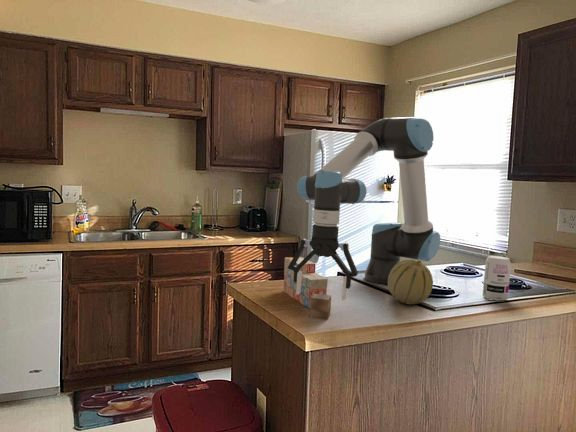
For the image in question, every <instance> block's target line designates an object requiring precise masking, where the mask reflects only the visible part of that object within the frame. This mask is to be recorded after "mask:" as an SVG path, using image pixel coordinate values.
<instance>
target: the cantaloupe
mask: <svg viewBox="0 0 576 432" xmlns="http://www.w3.org/2000/svg"><path fill="white" fill-rule="evenodd" d="M387 287H388V290H389V292H390V294H391V295H392V297H393V298H394V299H395V300H397V301H398V302H400V303H403V304H406V305H418V304H421V303H422V302H424V301H426V299H428V298H429V296H430V295H431V293H432V290H433V287H434V278H433V275H432V273H431V270H430V269H429V268H428V267H427V266H426V264H423V263H422V261H418V260H414V259H404V260H400V262H399V263H397V264H396V265H395V266H394V267H393V268H392V270H391V272H390V274H389V276H388V284H387Z"/></svg>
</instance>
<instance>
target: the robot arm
mask: <svg viewBox="0 0 576 432" xmlns="http://www.w3.org/2000/svg"><path fill="white" fill-rule="evenodd" d="M353 139H354V140H352V141H351V142H350V143H349V144H347V145H346V147H344V148H343V149H342V150H341V151H339V153H338V154H336V155H334V156H333V158H332V159H330V160H329V161H328V162H327V163H326V164H325V165H323V166H322V167H321V168H320V169H319V170H318V171H316V173H314V174H313V175H304V176H301V177H300V178H299V180H298V181H297V184H296V192H297V194H298V196H299V197H300V198H301V199H303V200H304V199H305V200H309V201H314V206H313V215H312V222H313V225H312V228H311V229H312V231H311V239H310V240H309V239H306V238H302V239H300V243H299V248H298V249H297V251H296V253H295V254H294V256H293V259H292V261H291V263H290V264H289V266H288V268H289V269H291V270H293V271H294V282H295V283H297V288H296V294H297V295H299V294H300V293H301V279H302V271H299V270H300V269H301V268H302V267H303V266H304V265H305V264H306V263H307V262H308V261H310V260H311V259H312V258H313V257H314V256H315V255H316V256H317V257H325V258H329V257H331V258H332V260H334V261H335V263H336V264H337V266H338V268H340V270H341V271H342V273H343V274H344V275H345V276H344V277H343V279H342V280H343V282H342V297H341V301H345V300H346V299H347V289H348V290H349V289H350V288H351V286H352V284H351V283H352V278H354V277H357V276H358V274H359V271H358V270H357V267H356V265H355V262H354V260H353V257H352V254H351V253H350V250H349V248H350V247H349V245H350V244H349V243H348V242H347V241H346V242H344V243H343V242H339V226H338V225H339V224H340V212H341V210H340V209H341V204H347V205H348V204H349V205H355V204H360V203H362V202H363V201H364V200H365V198H366V196H367V185H366V184H365V182H363V181H362V180H360V179H356V178H346V177H347V176H348V175H350V173H351V172H352V171H354V170H355V168H357V167H358V166H359V165H360V164H361V163H363V161H365V160H366V158H368V157H372V156H374V155H376V154H377V152H378V153H379V152H383V151H389V152H390V151H392V152H393V158H394V159H395V160H396V161H398V166H399V178H400V187H401V196H402V197H401V199H402V207H403V208H402V209H403V218H404V219H403V220H404V222H403V223H402V222H381V223H380V222H379V223H375V224H374V225H373V226H372V231H371V242H370V243H371V244H370V259H369V262H368V264H367V267H366V268H365V269H366V270H365V271H364V280H366V281H368V282H372V283H376V284H380V285H381V284H383V285H388V276H389V274H390V272H391V270H392V268H393V267H394V266H395V265H396V264H397V263H399V262H401V258H403V259H408V260H415V261H421V262H430V261H433V259H434V258H435V257H436V255H437V254H438V252H439V249H440V246H441V235H440V233H439V232H438V231H437V230H434V225H433V222H431V221H430V220H429V213H428V212H429V211H428V200H427V199H428V197H427V185H426V173H425V171H426V170H425V158H426V157H427V156H428V154H429V153H428V152H429V151H430V150H431V149H432V147H433V145H434V143H433V141H434V131H433V127H432V125H431V123H430V122H429V121H428V120H427V119H426V118H424V117H416V116H404V117H403V116H401V117H384V118H380V119H379V120H375V121H373V122H372V123H370V124H368V125H366V126H365V127H364V128H362V129H361V130H360V131H358V133H356V135H354V137H353ZM309 245H310V247H311V249H312V250H311V251H310V252H309V253H308V254H307V255H306V256H305V257H303V258H304V260H303V261H302V262H301V263H300V264H299V265H298V266H295V264H296V262H297V261H298V259H299V257H301V255H302V254H303V252H304V250H305V248H306V247H308V246H309ZM338 248H340V250H341V251H342V252H343V254H344V257H345V259H346V262H347V264H348V267H349V268H350V269H349V268H348V267H347V265H346V264H345V263H344V261H343V260H342V258H341V257H340V255H339V254H338V252H337V250H338Z"/></svg>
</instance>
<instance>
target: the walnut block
mask: <svg viewBox="0 0 576 432" xmlns="http://www.w3.org/2000/svg"><path fill="white" fill-rule="evenodd" d="M331 304H332V295H330V294H326V295H322V294H314V295H313V297H312V298H311V308H310V318H311V319H317V320H326V321H328V319H329V318H330V316H331V308H332V307H331V306H332V305H331Z"/></svg>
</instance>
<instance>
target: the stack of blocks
mask: <svg viewBox="0 0 576 432" xmlns="http://www.w3.org/2000/svg"><path fill="white" fill-rule="evenodd" d="M293 257H294V256H293ZM293 257H292V256H287V257H284V267H283V268H284V269H283V271H284V272H283V275H284V276H283V292H284V293H285V294H287V295H288V296H289V297H291V298H293V299H294V300H296V301H297V302H299V303H300V304H301V305H303V306H304V307H306V308H307V309H311V298H312V297H313V295H314V294H322V295H327V293H328V292H327V289H328V278H327V277H324V276H323V275H321V274H318V273H317V272H316V263H315V262H313V261H310V260H309V261H308V262H307V263H306V264H305V265H304V266H303V267H302V268H301V269H300V270H299V271H302V279H301V293H300V294H299V295H297V294H296V288H297V283H295V282H294V271H293V270H291V269H289V268H288V266H289V264H290V263H291V261H292V259H293ZM304 258H305V257H303V256H300V257H299V259H298V261H297V262H296V264H295V266H298V265H299V264H300V263H301V262H302V261H303V260H304Z"/></svg>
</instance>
